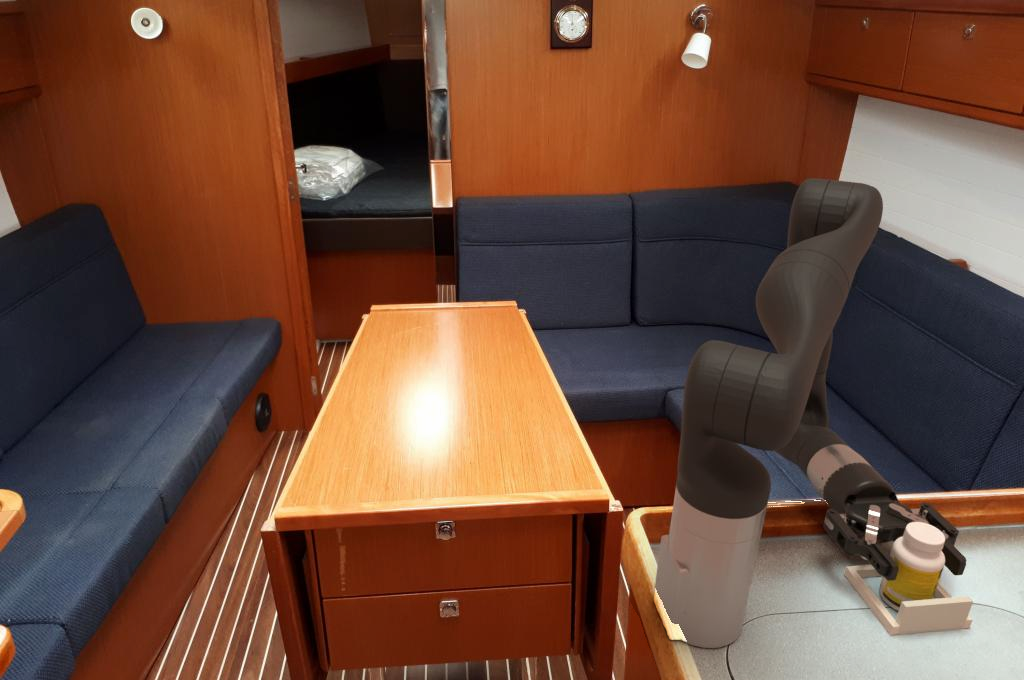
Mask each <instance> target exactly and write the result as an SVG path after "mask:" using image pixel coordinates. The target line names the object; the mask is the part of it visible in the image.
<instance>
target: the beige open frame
mask: <svg viewBox="0 0 1024 680" xmlns="http://www.w3.org/2000/svg"><path fill="white" fill-rule="evenodd" d="M843 575H844V576H845V577H846V578H847V580H848V581H849V583H850V584H851V586H852V587H853V588H854V589H855V591H856V592H857V593H858V595H859V596H860V598H862V599H863V601H864V602H865V603H866V605H867V607H869V609H870V610H871V611H872V613H873V614H874V615H875V617H876V618H877V619H878V621H879V622H880V623H881V625H882V626H883V627H884V628H885V629H886V631H887V633H888V634H889V635H890V636H893V635H894V636H895V635H896V636H897V635H905V634H907V635H908V634H916V633H917V634H918V633H928V632H938V631H949V630H952V631H953V630H961V629H970V628H971V625H972V623H973V618H971V616H970V615H969V614H970V612H971V609H972V606H973V604H974V600H973V599H972V598H971V597H970V596H969V595H965V596H962V595H961V596H952V595H951V594H950V593H949V592H948V591H947V590H946V589H945V588H944V586H942V584H941V583H940V581H939V582H938V585H937V588H936V591H935V594H934V597H935V598H933V599H926V600H915V601H903V602H901V605H900V608H899V611H898V612H897V615H896V618H894V616H892V615H891V613H890V611H888V609H887V608H886V607H885V606H884V604H883V603H882V602H881V600H880V599H879V598H878V597H877V595H876V594H875V593H874V592H873V590H872V589H871V588H870V586H869V585H868V584H867V583H866V582H865V580H864V579H865V578H874V577H882V576H881V575H880V574H879V573H878V572H877V571H876V569H874V567H873V566H872V565H871V564H861V565H850V566H849V565H848V566H845V569H844V573H843ZM863 578H864V579H863Z"/></svg>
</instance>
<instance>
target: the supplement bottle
mask: <svg viewBox="0 0 1024 680" xmlns="http://www.w3.org/2000/svg"><path fill="white" fill-rule="evenodd" d="M944 543H945V536H944V534H943V533H942V532H941V531H940V530H939V529H937V528H936V527H934V526H932V525H929V524H927V523H923V522H911V523H909V524H908V525H907V526H906V528H905V531H904V534H903V536H902V537H899V538H898V539H896V540H895V541H893V544H892V547H891V549H890V553H889V555H890V556H891V557H892V559H893V560H894V561H895V562H896V563H897V564H898V567H899V570H898V574H897V577H896V579H895V580H890V581H888V580H887V579H886V578H885V577H884V576H882V579H881V582H880V585H879V594H880V596H881V599H882V600H883V601H884V602H885V603H886V604H887V605H888V606H889V607H891V608H892V609H893V610H895V611H899V608H900V605H901V602H903V601H915V600H926V599H934V597H935V596H934V594H935V591H936V588H937V585H938V582H939V583H940V579H941V576H942V574H943V570H944V567H945V556H944V554H943V552H942V551H941V550H942V549H943V546H944Z"/></svg>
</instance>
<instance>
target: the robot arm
mask: <svg viewBox="0 0 1024 680" xmlns="http://www.w3.org/2000/svg"><path fill="white" fill-rule="evenodd" d="M795 192H796V193H795V194H794V195H795V196H794V198H793V201H792V204H791V210H790V213H789V221H788V232H787V246H786V249H785V250H783V251H782V252H780V253H779V254H778V255H777V256H776V258H775V259H774V260H773V262H772V263H771V265H769V268H768V270H767V271H766V272H765V275H764V277H763V278H762V280H761V282H760V283H759V286H758V288H757V290H756V295H755V310H756V313H757V316H758V319H759V322H760V324H761V326H762V328H763V330H764V332H765V333H766V335H767V337H768V339H769V340H770V342H771V343H772V345H773V346H774V348H775V350H776V352H777V353H774V352H773V353H772V352H768V351H765V350H761V349H756V348H752V347H748V346H744V345H740V344H735V343H731V342H728V341H722V340H717V339H716V340H715V339H713V340H708V341H706V342H704V343H703V344H701V345H700V346H699V347H698V349H697V350H696V352H695V354H694V355H693V357H692V359H691V362H690V364H689V366H688V370H687V374H686V378H685V384H684V390H683V391H684V392H683V401H682V414H681V428H680V439H679V448H678V449H679V450H678V457H677V475H676V483H675V492H674V496H673V497H674V499H673V505H672V512H671V519H670V526H669V532H668V534H664V535H661V537H660V538H661V539H660V546H659V553H658V562H657V568H656V573H655V574H656V575H655V583H654V589H655V588H656V590H657V593H658V595H659V597H660V599H661V600H662V602H663V605H664V608H665V609H666V612H667V614H668V616H669V618H670V620H671V622H672V623H674V624H679V626H680V628H681V630H682V632H683V634H684V636H685V638H686V640H687V642H688V643H687V644H688V645H691V646H695V647H700V648H704V649H716V648H717V649H718V648H723V647H725V646H729V645H730V644H732V643H734V642H735V641H736V640H737V639H738V638H739V636H740V634H741V633H742V629H743V625H744V620H745V617H746V613H747V611H746V610H747V606H748V601H749V596H750V591H751V586H752V582H753V575H754V570H755V566H756V562H757V561H756V560H757V557H758V552H759V548H760V542H761V538H762V537H761V536H762V532H763V528H764V527H763V526H764V523H765V518H766V514H767V508H768V505H769V500H770V494H771V488H772V480H771V476H770V473H769V470H768V469H767V467H766V466H765V465H764V464H763V463H762V462H761V461H760V459H758V458H757V457H756V456H754V455H753V454H752V453H750V452H749V451H748V450H746V449H745V448H744V447H742V446H747V447H749V448H752V449H757V450H761V451H769V452H775V453H776V454H777V455H779V456H781V457H782V458H784V459H786V460H787V461H790V462H791V463H792V464H794V465H796V466H797V467H798V468H799V470H800V471H801V472H802V474H804V475H805V477H806V478H807V479H808V480H809V481H810V483H811V485H812V486H813V488H814V490H815V491H816V493H817V494H818V495H819V497H821V499H822V500H823V501H824V500H826V502H827V503H828V505H829V506H830V507H829V506H828V505H827V506H828V507H829V508H828V509H827V510H826V513H825V518H824V521H823V525H822V527H823V528H824V530H825V531H826V533H827V534H828V535H829V537H830V538H831V539H832V540H833V542H834V543H835V544H836V546H837V547H838V549H839V550H840V551H841V553H843V555H844V556H846V557H848V558H854V557H855V555H857V556H860V557H861V559H863V560H866V561H868V562H869V565H872V566H873V567H874V569H876V571H877V572H878V573H879V574H880V575H881V576H880V577H883V576H884V577H885V578H886V579H887V580H888V581H890V580H895V579H896V577H897V574H898V570H899V567H898V564H897V563H896V562H895V561H894V560H893V559H892V557H891V556H890V553H889V552H887V551H886V549H885V548H884V547H883V546H882V544H884V543H886V544H887V543H890V542H895V540H896V539H898V538H899V537H902V536H903V534H904V531H905V528H906V526H907V525H908V524H909V523H911V522H923V523H927V524H929V525H932V526H934V527H936V528H937V529H939V530H940V531H941V532H942V533H943V534H944V536H945V543H944V546H943V549H942V550H941V551H942V552H943V554H944V556H945V565H944V567H945V568H947V569H948V571H950V573H951V574H952V575H953V576H956V577H957V576H962V575H964V571H965V569H966V566H967V560H968V559H967V557H965V555H963V553H961V552H960V551H959V549H957V547H955V544H956V541H957V537H958V536H959V533H960V531H959V530H958V529H957V528H956V527H955V526H954V525H953V524H952V523H951V522H950V521H949V520H947V519H946V518H945V517H944V515H942V514H941V513H940V512H939V511H938V510H937V509H936V507H933V505H931V504H930V503H928V502H921V504H920V508H910V507H908V506H907V505H905V504H903V503H902V502H901V501H900V500H899V499H898V496H897V493H896V491H895V490H894V488H893V486H891V484H890V483H889V482H888V481H887V480H886V479H885V478H884V477H883V476H882V475H881V473H879V472H878V471H877V470H876V469H875V468H874V467H873V466H872V465H871V464H870V463H869V462H868V461H867V460H866V459H865V458H864V457H863V456H862V455H861V454H859V453H858V452H856V451H855V450H854V449H853V448H851V447H850V446H849V444H847V443H846V442H845V441H844V440H843V439H842V438H841V437H840V436H839V434H837V433H836V432H834V430H832V429H830V428H829V425H830V424H829V423H830V419H829V411H828V410H829V409H828V402H827V385H826V376H827V375H826V374H827V370H828V366H829V362H830V357H831V351H832V345H833V338H834V333H833V329H834V327H835V325H836V323H837V321H838V320H839V317H840V315H841V313H842V310H843V308H844V306H845V304H846V300H847V298H848V296H849V293H850V289H851V287H852V284H853V281H854V278H855V274H856V272H857V269H858V267H859V265H860V263H861V262H862V260H863V258H864V257H865V255H866V254H867V252H868V250H869V249H870V246H871V245H872V243H873V241H874V240H875V238H876V235H877V233H878V230H879V227H880V226H881V225H880V224H881V222H882V219H883V218H882V217H883V212H884V211H883V210H884V201H883V197H882V195H881V192H880V191H879V189H878V188H877V187H875V186H873V185H870V184H866V183H862V182H853V181H844V180H835V179H827V178H826V179H824V178H814V177H813V178H807V179H805V180H803V181H802V183H800V185H799V187H798V188H797V190H796V191H795ZM739 444H740V445H739ZM826 502H825V503H826ZM827 503H826V504H827ZM854 531H855V532H857V533H859V534H861V538H859V537H858V535H857V534H856V533H855V532H854ZM877 542H879V543H880V544H877Z"/></svg>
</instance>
